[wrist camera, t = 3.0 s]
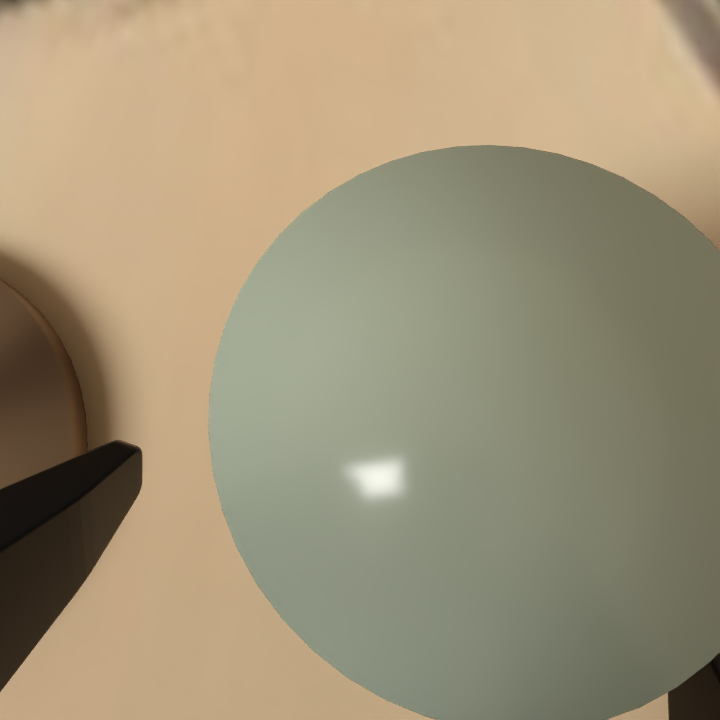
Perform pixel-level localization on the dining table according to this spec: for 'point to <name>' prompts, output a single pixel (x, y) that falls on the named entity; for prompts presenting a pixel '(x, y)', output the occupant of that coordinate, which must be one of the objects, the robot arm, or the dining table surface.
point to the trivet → (35, 393)
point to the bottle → (482, 435)
